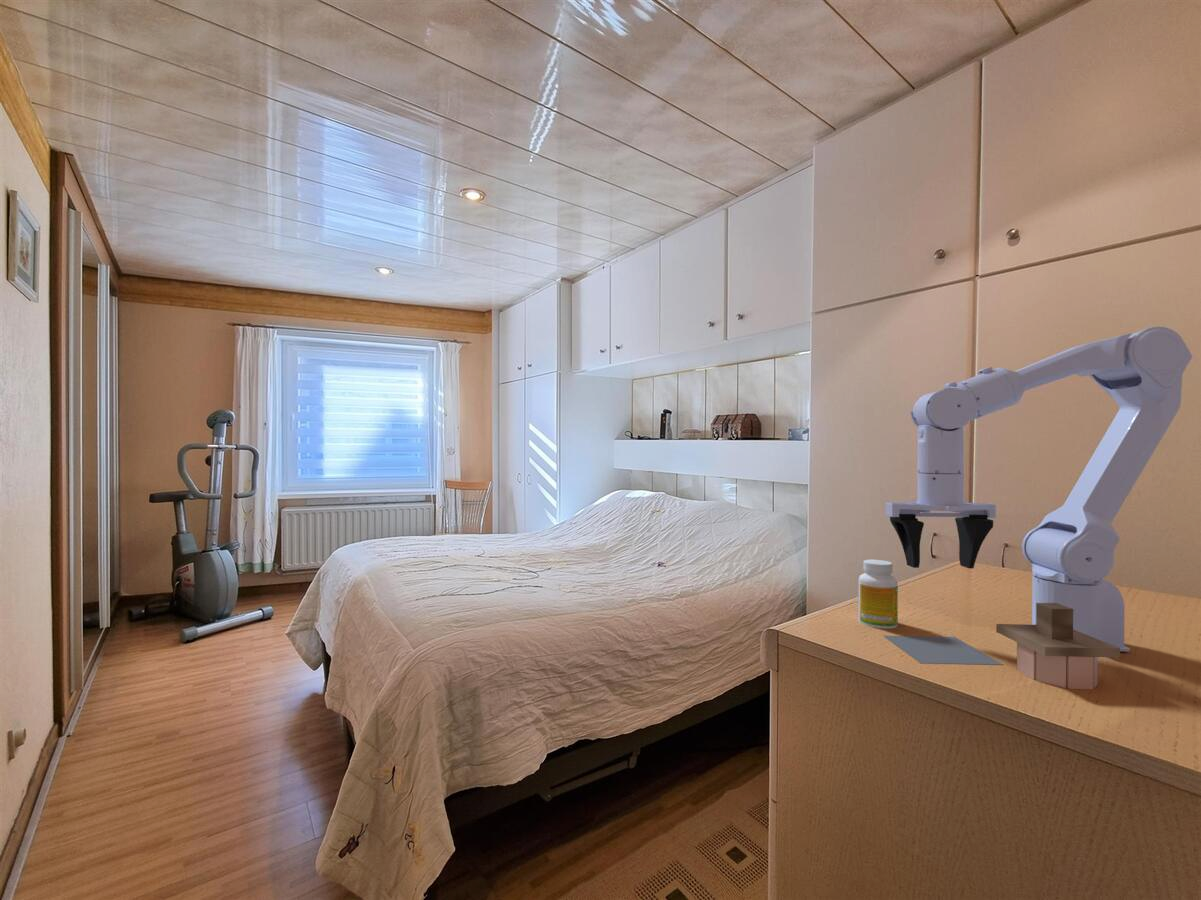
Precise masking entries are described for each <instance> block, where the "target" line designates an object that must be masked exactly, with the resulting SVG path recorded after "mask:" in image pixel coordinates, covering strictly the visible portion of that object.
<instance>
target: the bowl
mask: <svg viewBox="0 0 1201 900" xmlns="http://www.w3.org/2000/svg"><path fill="white" fill-rule="evenodd" d="M1098 660H1099V657H1071V656H1044V655H1042V654H1040V653H1038V652H1036V651H1034V650H1032V649H1030V648H1028V647H1026V646H1024V645H1022V644H1020V643H1018V642H1016V671H1017V672H1019V673H1021V674H1023V675H1025V676H1026V677H1028V678H1030V679H1031V680H1032V681H1033V680H1034V681H1036V682H1039V683H1043V684H1048V685H1052V686H1055V687H1059V688H1064V689H1066V688H1067V689H1068V690H1071V689H1073V690H1095V689H1096V687H1097V684H1098V683H1099V682H1098V681H1099V680H1098V676H1099V674H1098V673H1099V671H1098V670H1099V668H1098V666H1099V663H1098V662H1099V661H1098Z"/></svg>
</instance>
